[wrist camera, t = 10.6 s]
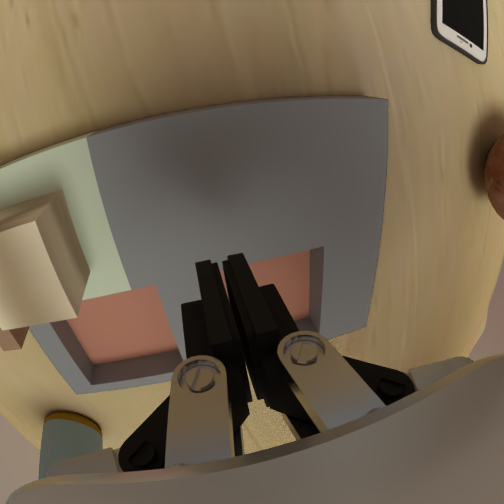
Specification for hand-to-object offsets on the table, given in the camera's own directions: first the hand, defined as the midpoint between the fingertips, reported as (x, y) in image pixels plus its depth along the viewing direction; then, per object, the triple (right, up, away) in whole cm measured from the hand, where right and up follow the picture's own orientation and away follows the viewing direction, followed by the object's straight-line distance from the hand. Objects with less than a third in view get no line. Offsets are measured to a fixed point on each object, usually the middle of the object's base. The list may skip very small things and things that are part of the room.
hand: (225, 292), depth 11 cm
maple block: (-11, +2, +3) cm, 11 cm away
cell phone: (+19, +25, +3) cm, 31 cm away
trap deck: (-3, +1, +9) cm, 10 cm away
